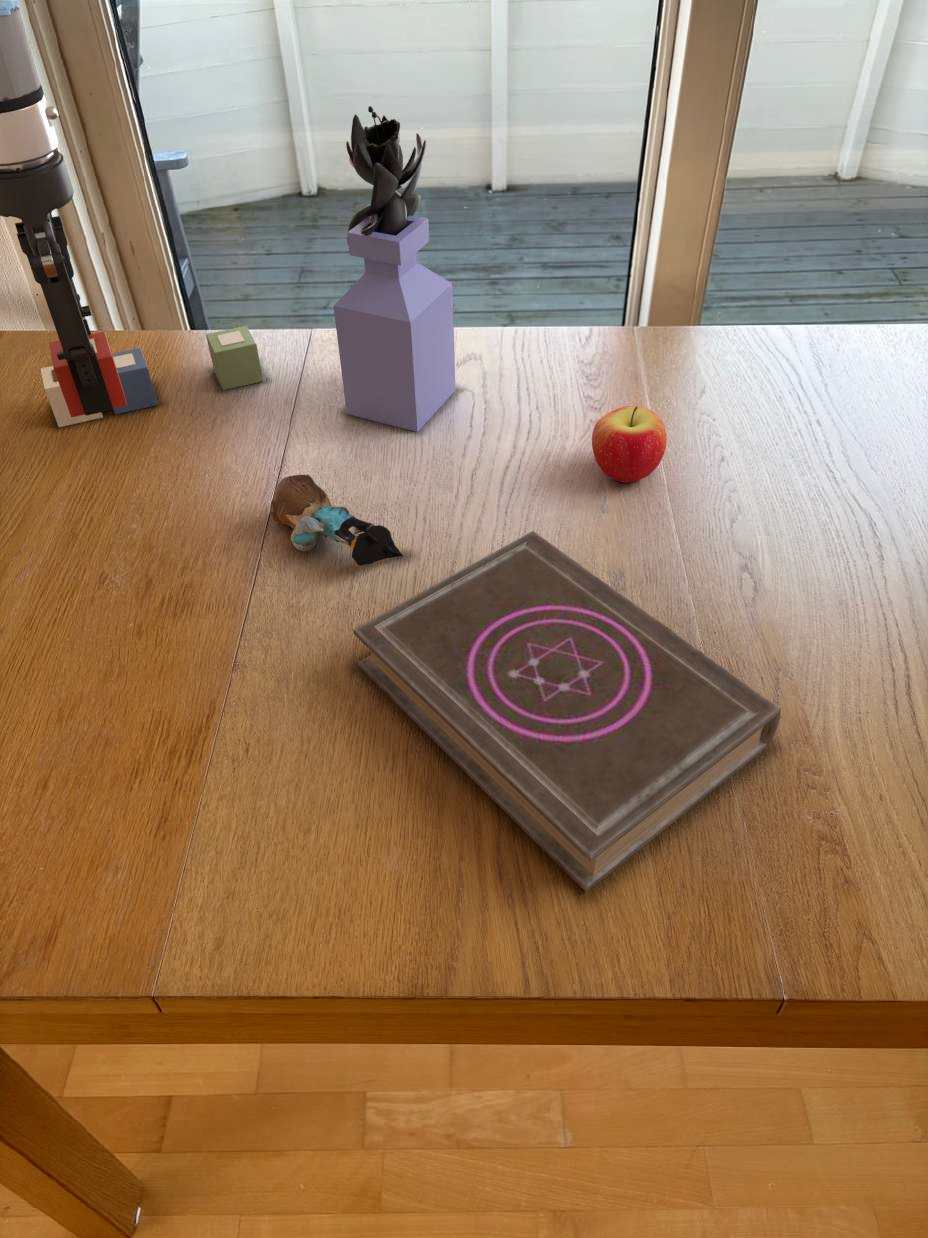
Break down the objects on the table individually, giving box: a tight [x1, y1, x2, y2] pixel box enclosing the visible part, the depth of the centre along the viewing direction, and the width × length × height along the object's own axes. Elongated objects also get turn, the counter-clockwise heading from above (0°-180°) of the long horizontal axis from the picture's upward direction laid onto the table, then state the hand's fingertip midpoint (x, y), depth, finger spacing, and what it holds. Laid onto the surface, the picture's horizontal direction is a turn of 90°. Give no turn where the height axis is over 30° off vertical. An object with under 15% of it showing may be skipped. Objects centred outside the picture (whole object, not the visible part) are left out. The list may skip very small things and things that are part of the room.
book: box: [352, 530, 782, 893], centre depth 84 cm, size 30×22×5 cm
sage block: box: [205, 325, 264, 391], centre depth 126 cm, size 6×6×6 cm
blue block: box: [112, 347, 159, 415], centre depth 122 cm, size 6×6×6 cm
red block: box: [48, 331, 127, 417], centre depth 95 cm, size 6×6×6 cm
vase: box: [333, 106, 457, 433], centre depth 111 cm, size 14×12×35 cm
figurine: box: [269, 474, 405, 567], centre depth 100 cm, size 8×16×6 cm, turn 48°
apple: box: [591, 405, 668, 483], centre depth 107 cm, size 8×8×10 cm
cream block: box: [40, 365, 104, 428], centre depth 120 cm, size 6×6×6 cm
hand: (95, 395), depth 97 cm, fingers closed on red block, 5 cm apart
